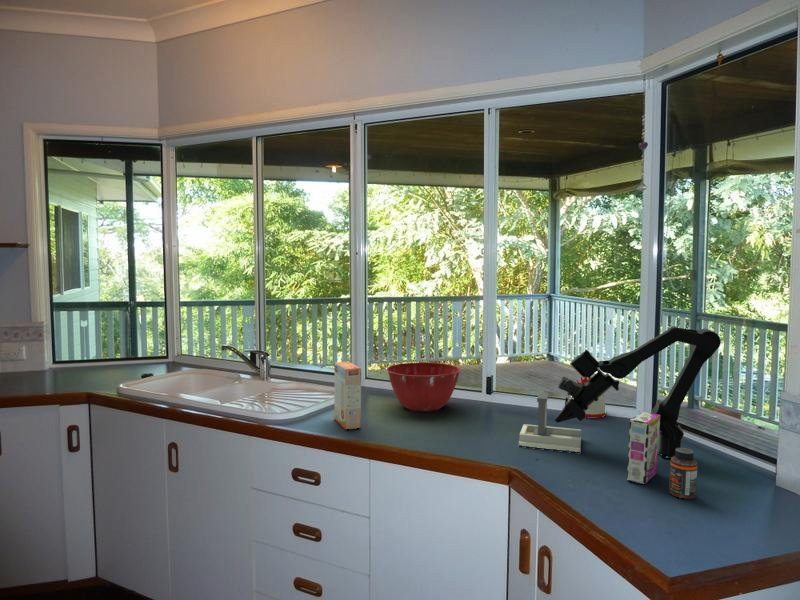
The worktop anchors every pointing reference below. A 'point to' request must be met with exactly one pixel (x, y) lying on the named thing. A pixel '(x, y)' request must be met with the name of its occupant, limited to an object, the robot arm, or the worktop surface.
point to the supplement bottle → (683, 474)
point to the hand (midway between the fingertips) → (556, 421)
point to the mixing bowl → (423, 384)
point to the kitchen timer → (594, 404)
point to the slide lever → (542, 415)
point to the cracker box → (347, 395)
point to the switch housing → (551, 438)
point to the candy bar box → (643, 447)
